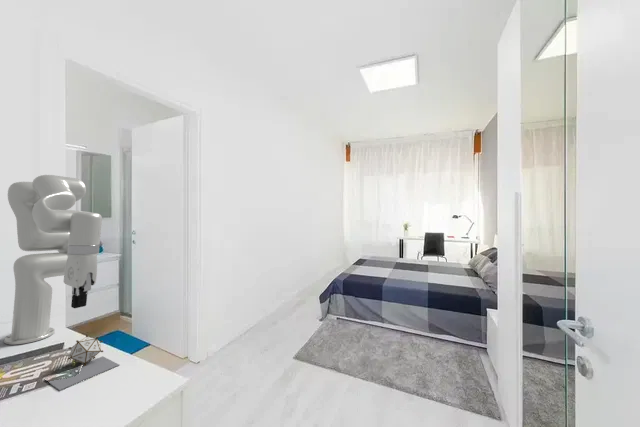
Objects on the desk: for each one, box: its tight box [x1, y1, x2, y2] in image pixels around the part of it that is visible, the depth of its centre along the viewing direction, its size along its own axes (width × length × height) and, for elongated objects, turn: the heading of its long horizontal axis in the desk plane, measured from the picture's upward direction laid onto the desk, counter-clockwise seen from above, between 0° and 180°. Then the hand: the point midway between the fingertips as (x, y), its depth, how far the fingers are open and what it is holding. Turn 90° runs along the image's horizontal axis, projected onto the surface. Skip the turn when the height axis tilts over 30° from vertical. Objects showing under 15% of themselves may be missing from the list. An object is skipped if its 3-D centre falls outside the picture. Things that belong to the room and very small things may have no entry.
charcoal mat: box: [48, 356, 120, 392], centre depth 76 cm, size 10×14×1 cm
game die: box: [67, 334, 104, 366], centre depth 82 cm, size 9×8×10 cm
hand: (78, 306), depth 82 cm, fingers closed
